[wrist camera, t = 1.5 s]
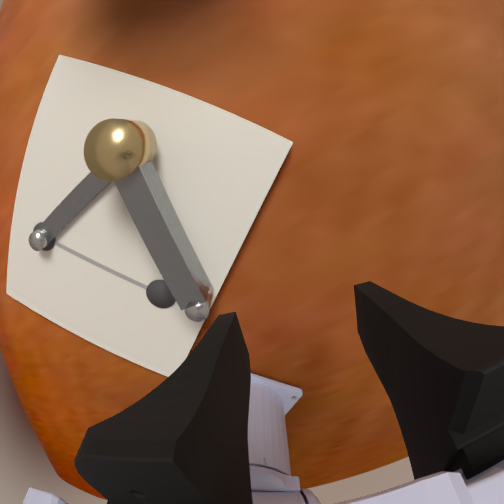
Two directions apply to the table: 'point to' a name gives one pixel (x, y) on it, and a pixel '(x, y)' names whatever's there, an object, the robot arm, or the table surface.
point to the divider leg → (149, 207)
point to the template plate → (118, 218)
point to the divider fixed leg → (67, 211)
